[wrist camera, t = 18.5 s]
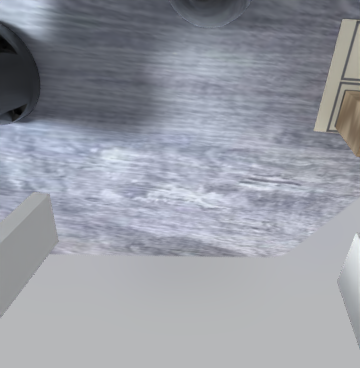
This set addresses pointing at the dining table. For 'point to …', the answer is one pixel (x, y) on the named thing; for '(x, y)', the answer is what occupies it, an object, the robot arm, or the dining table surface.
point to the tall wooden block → (350, 120)
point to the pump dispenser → (210, 11)
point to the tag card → (340, 75)
